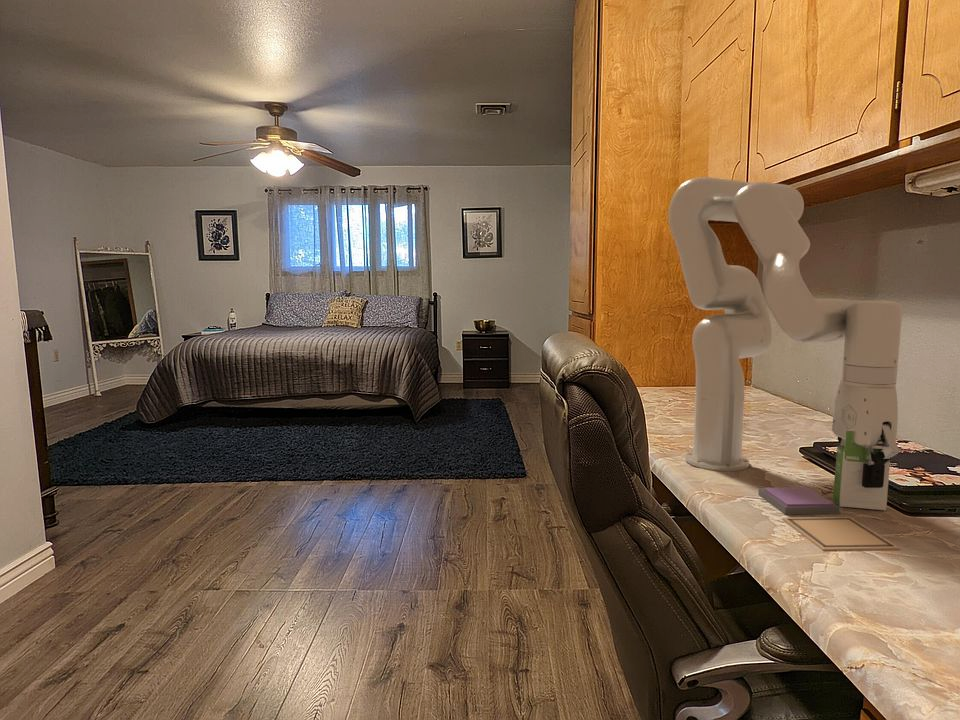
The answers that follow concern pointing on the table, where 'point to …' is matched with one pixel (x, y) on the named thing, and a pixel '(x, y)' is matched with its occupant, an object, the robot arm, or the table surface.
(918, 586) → the table surface
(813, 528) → the marked card
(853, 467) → the ink box
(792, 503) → the ink pad
